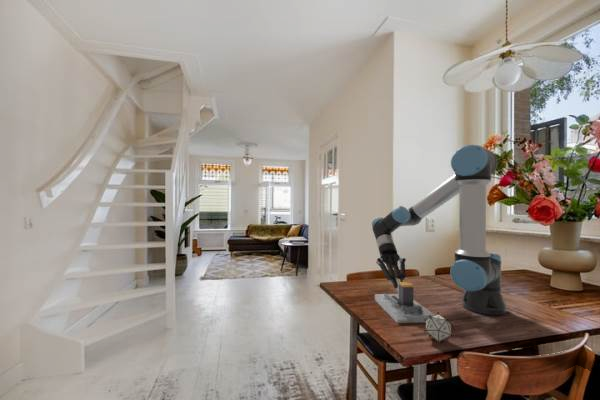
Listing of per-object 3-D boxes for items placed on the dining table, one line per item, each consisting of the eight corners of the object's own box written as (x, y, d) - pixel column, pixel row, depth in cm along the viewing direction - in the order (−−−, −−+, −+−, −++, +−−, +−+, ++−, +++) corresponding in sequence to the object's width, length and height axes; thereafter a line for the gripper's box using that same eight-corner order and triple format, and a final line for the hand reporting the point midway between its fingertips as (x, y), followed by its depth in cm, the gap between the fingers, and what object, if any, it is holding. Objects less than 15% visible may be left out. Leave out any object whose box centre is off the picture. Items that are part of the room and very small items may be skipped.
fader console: (374, 299, 124) (374, 289, 124) (405, 299, 125) (405, 289, 125) (397, 322, 100) (397, 310, 100) (435, 322, 101) (435, 309, 101)
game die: (445, 354, 86) (466, 336, 81) (420, 345, 86) (440, 326, 81) (436, 328, 94) (455, 310, 89) (413, 320, 94) (431, 301, 89)
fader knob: (397, 304, 111) (397, 281, 111) (409, 303, 111) (409, 281, 112) (402, 308, 106) (402, 285, 106) (414, 308, 107) (414, 285, 107)
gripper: (397, 251, 132) (414, 299, 115) (370, 251, 131) (383, 299, 114) (402, 241, 127) (420, 290, 110) (374, 241, 126) (388, 290, 109)
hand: (401, 295), depth 112 cm, fingers closed
